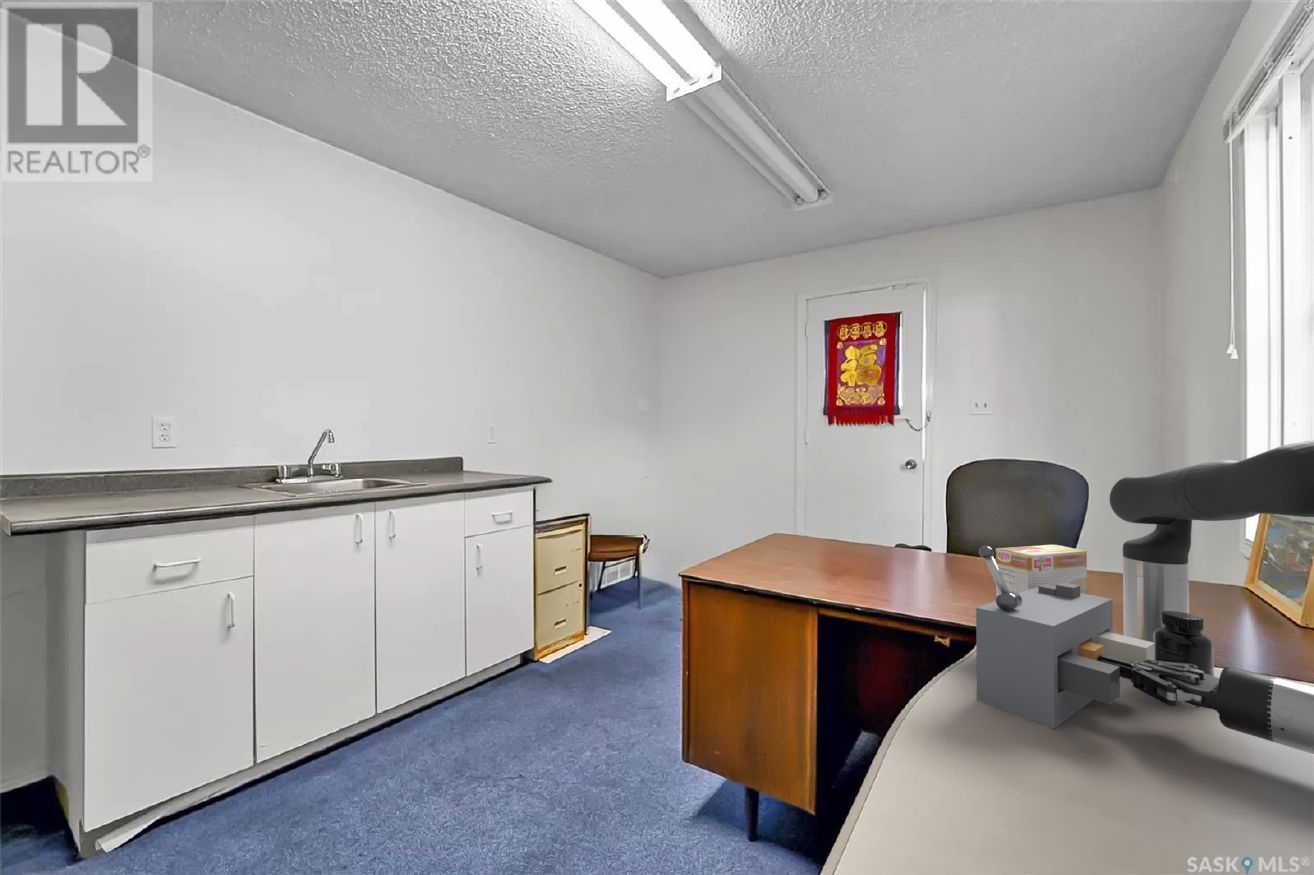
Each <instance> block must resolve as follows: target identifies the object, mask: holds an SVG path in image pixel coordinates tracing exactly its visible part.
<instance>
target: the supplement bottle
mask: <svg viewBox="0 0 1314 875" xmlns="http://www.w3.org/2000/svg"><path fill="white" fill-rule="evenodd" d="M1161 623H1162V624H1163V627H1159V628H1157V629H1156V630H1155V631H1154V634H1153V639H1154V648H1155V661H1165V662H1174V663H1184V664H1193V665H1195V666H1197V667H1198V670H1201V671H1203V672H1204V674H1208V675H1212V676H1214V677H1215V675H1214V674H1215V672H1214V671H1215V669H1214V668H1215V666H1214V643H1213V641H1212V640H1211V638H1210V637H1208V636H1207V635H1206V634H1204V633H1203V632H1204V631H1205V626H1204V625H1205V624H1204V618H1203V617H1202V616H1199V615H1196V614H1192V613H1189V614H1188V613H1183V612H1176V611H1163V612H1162V619H1161Z"/></svg>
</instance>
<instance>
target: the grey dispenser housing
mask: <svg viewBox="0 0 1314 875" xmlns="http://www.w3.org/2000/svg"><path fill="white" fill-rule="evenodd" d="M1018 594H1019V595H1020V596H1021V598H1022V604H1021V606H1019V607H1017V608H1014V609H1012V610H1009V611H1005V610H1002V609H1000V608H999V607H998V606H997V604H996V600H995V601H992V602H989V603H986V604H982V605H980V606H977V607H976V609H975V610H976V612H975V614H976V618H975V620H976V621H975V622H976V623H975V625H976V627H975V628H976V629H975V631H976V634H975V636H976V637H975V638H976V640H975V641H976V645H975V646H976V653H975V654H976V655H975V656H976V700H977V701H980V702H983V703H985V704H988V705H990V706H993V707H995V708H999V709H1000V710H1003V711H1006V712H1009V713H1012V714H1015V715H1018V716H1019V717H1022V718H1024V719H1028V720H1030V721H1034V722H1036V723H1038V724H1041V725H1043V726H1046V727H1048V728H1051V729H1056V728H1057V727H1059V726H1060V725H1061V724H1063V723H1064V722H1066V721H1067V720H1069V719H1070V718H1071V717H1072V716H1074V715H1075V714H1076V713H1077V712H1079V711H1081V710H1082V709H1083V708H1084V707H1086V706H1087V705H1089V704H1090V703H1091V702H1093V701H1095V700H1094V699H1091V698H1088V697H1085V696H1082V695H1079V694H1076V693H1073V692H1069V691H1066V690H1063V689H1060V688H1058V656H1059V655H1061V654H1063V653H1064V652H1067V653H1071V654H1074V655H1078V656H1079V644H1081V643H1083V642H1084V641H1088V642H1092V643H1096V644H1098V634H1099V633H1101V632H1103V631H1106V632H1110V633H1114V631H1113V598H1109V597H1105V596H1104V597H1103V596H1098V595H1094V594H1088V593H1087V594H1083V593H1080V585H1075V584H1070V583H1064V582H1062V583H1059V584H1057V585H1056V586H1055V585H1049V584H1044V585H1041V586H1038V587H1035V588H1032V589H1029V590H1026V591H1023V592H1020V593H1018Z"/></svg>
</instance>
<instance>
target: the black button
mask: <svg viewBox="0 0 1314 875" xmlns="http://www.w3.org/2000/svg"><path fill="white" fill-rule="evenodd" d="M1058 688H1060V689H1063V690H1066V691H1069V692H1073V693H1076V694H1079V695H1082V696H1085V697H1088V698H1091V699H1094V700H1093V701H1097V702H1101V703H1104V704H1108V705H1111V704H1112V703H1114V702H1115V701H1117V700H1118V699H1119V698H1121V677H1120V667H1119V666H1115V665H1111V664H1108V663H1104V662H1100V661H1097V660H1093V659H1089V658H1086V657H1082V656H1078V655H1074V654H1071V653H1067V652H1064V653H1063V654H1061V655H1059V656H1058Z"/></svg>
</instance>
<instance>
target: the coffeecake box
mask: <svg viewBox="0 0 1314 875" xmlns="http://www.w3.org/2000/svg"><path fill="white" fill-rule="evenodd" d="M1087 553H1088V551H1087V550H1085V549H1080V548H1073V547H1069V546H1065V545H1059V544H1043V545H1030V546H1029V545H1028V546H1016V547H1015V546H1013V547H997V548H995V562H996V564H997V566H998V568H999V571H1000V573H1001V575H1002V577H1003V579H1004V581H1005V583H1006V585H1007V587H1008V590H1009V592H1010V591H1013V592H1016V593H1020V592H1023V591H1026V590H1029V589H1032V588H1035V587H1038V586H1041V585H1044V584H1049V585H1055V586H1056V585H1057V584H1059V583H1062V582H1064V583H1070V584H1075V585H1080V593H1083V594H1088V562H1087V560H1088V558H1087V555H1088V554H1087ZM995 584H996V583H995ZM995 589H996V590H995V591H996V592H995V596H996V598H997V596H998V595H1000V594H1001V593H1000V591H999V589H998V587H997V584H996V587H995ZM996 598H995V599H996Z"/></svg>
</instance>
